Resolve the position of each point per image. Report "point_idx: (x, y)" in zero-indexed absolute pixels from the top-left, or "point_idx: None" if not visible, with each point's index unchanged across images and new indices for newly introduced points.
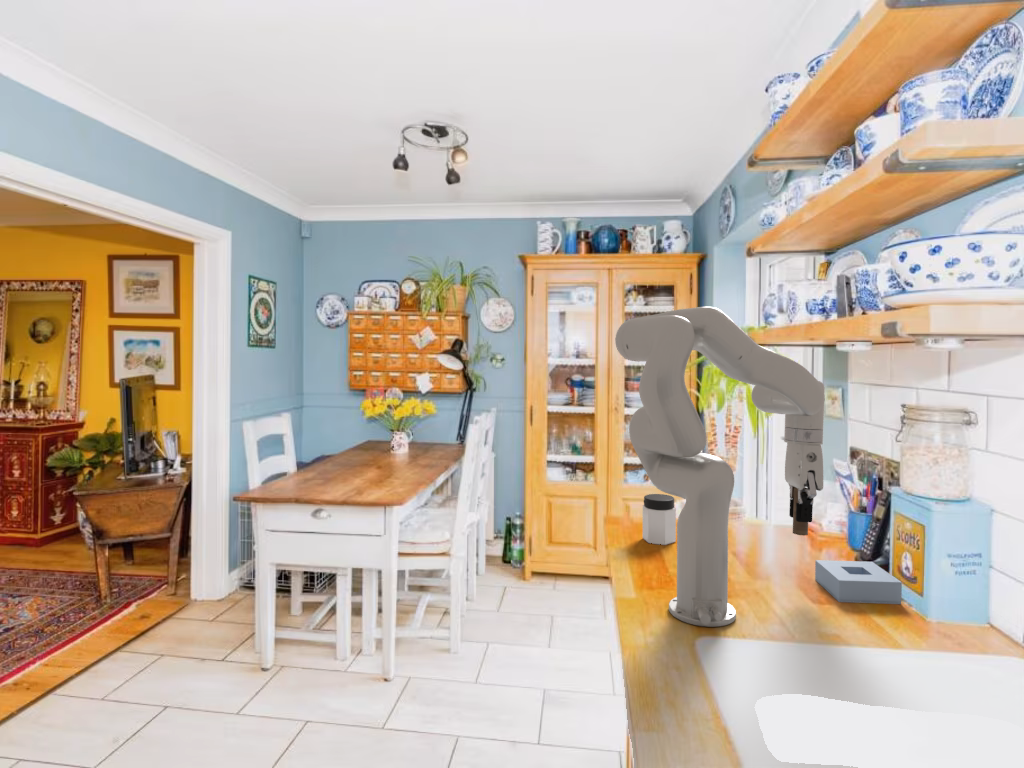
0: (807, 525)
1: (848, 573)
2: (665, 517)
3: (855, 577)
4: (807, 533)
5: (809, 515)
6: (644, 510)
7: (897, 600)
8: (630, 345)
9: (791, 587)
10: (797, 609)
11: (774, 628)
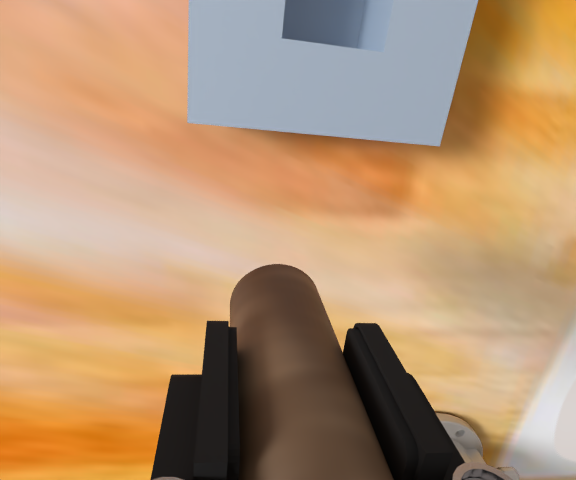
0: (322, 311)
1: (375, 55)
2: None
3: (423, 50)
4: (308, 279)
5: (418, 388)
6: None
7: None
8: None
9: (273, 231)
10: (428, 276)
11: (504, 355)
